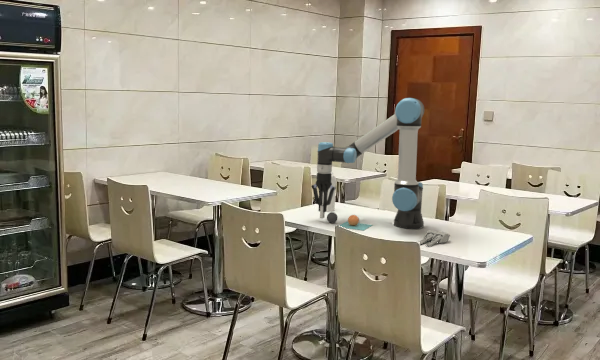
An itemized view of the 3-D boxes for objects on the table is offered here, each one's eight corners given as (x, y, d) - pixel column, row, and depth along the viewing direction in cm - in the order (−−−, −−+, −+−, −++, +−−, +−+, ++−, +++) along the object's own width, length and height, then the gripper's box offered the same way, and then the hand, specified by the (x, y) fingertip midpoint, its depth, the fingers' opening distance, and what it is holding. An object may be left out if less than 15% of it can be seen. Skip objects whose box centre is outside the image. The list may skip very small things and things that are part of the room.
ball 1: (327, 214, 305) (332, 223, 304) (323, 215, 300) (328, 225, 300) (336, 209, 303) (340, 219, 302) (332, 211, 298) (336, 221, 297)
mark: (372, 225, 300) (372, 224, 300) (363, 230, 287) (363, 230, 287) (346, 221, 305) (346, 221, 305) (336, 226, 293) (336, 226, 293)
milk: (327, 212, 329) (329, 173, 326) (319, 210, 333) (321, 171, 330) (334, 210, 334) (336, 172, 330) (326, 209, 338) (328, 171, 335)
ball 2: (348, 219, 300) (356, 227, 299) (344, 221, 296) (352, 229, 294) (354, 211, 299) (362, 219, 297) (350, 213, 294) (358, 220, 292)
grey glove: (412, 249, 265) (412, 239, 264) (433, 235, 280) (433, 226, 279) (432, 253, 259) (432, 243, 258) (453, 239, 274) (453, 229, 272)
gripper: (309, 172, 299) (307, 217, 303) (333, 174, 294) (331, 220, 297) (315, 170, 306) (313, 215, 310) (338, 173, 301) (336, 218, 304)
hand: (322, 217), depth 303 cm, fingers closed
